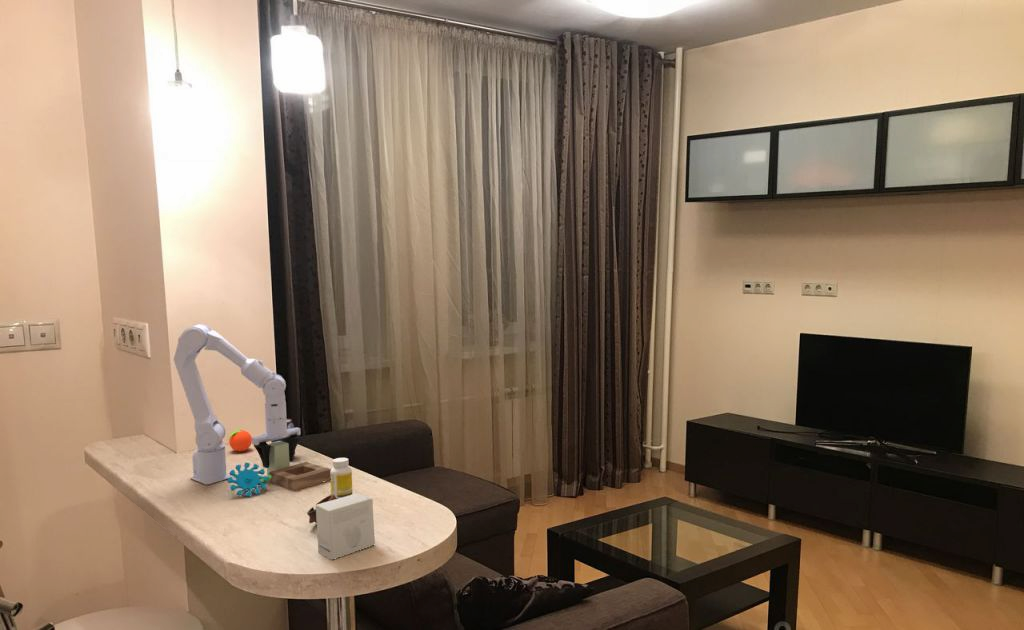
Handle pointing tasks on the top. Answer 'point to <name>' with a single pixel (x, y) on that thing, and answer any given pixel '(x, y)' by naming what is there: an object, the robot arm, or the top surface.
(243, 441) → the clementine
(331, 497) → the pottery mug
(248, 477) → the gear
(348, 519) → the skincare box
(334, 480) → the supplement bottle
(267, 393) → the robot arm
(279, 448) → the sage peg
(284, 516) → the top surface
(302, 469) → the walnut collar
